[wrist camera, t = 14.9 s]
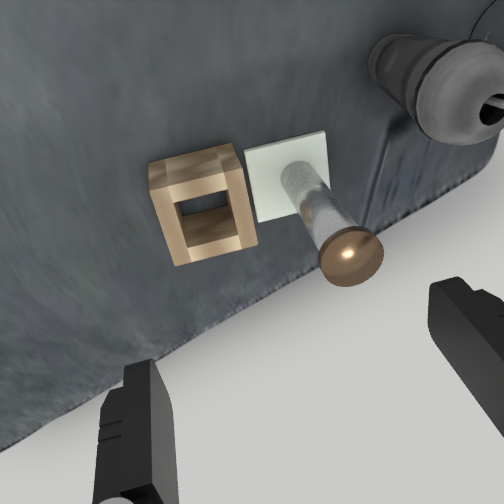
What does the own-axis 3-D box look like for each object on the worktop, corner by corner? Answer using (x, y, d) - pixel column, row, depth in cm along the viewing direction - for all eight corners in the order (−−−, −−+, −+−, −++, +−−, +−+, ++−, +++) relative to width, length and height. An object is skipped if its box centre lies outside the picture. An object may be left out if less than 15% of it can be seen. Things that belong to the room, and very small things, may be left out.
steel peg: (318, 149, 46) (383, 225, 34) (322, 192, 49) (384, 277, 36) (271, 161, 46) (319, 242, 33) (278, 203, 48) (324, 293, 36)
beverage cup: (341, 45, 42) (471, 113, 25) (416, -2, 41) (601, 38, 24) (369, 114, 46) (496, 212, 29) (437, 74, 45) (608, 151, 28)
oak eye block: (231, 142, 44) (242, 167, 40) (246, 214, 49) (258, 244, 44) (148, 163, 44) (149, 191, 39) (171, 233, 49) (175, 266, 44)
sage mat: (323, 130, 46) (325, 132, 45) (329, 201, 50) (331, 203, 50) (243, 149, 45) (244, 152, 45) (257, 219, 50) (258, 222, 49)
